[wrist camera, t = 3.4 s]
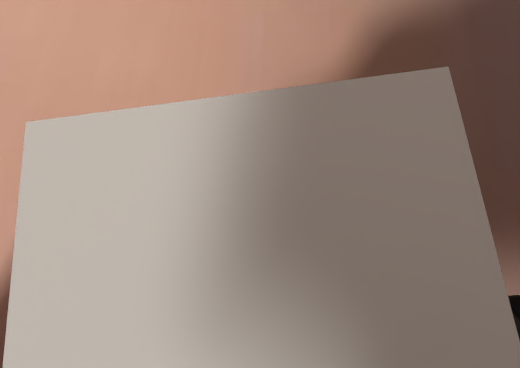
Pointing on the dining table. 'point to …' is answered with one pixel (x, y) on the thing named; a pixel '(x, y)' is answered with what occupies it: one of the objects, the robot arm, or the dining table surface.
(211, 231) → the cream block
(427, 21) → the dining table surface
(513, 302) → the robot arm
